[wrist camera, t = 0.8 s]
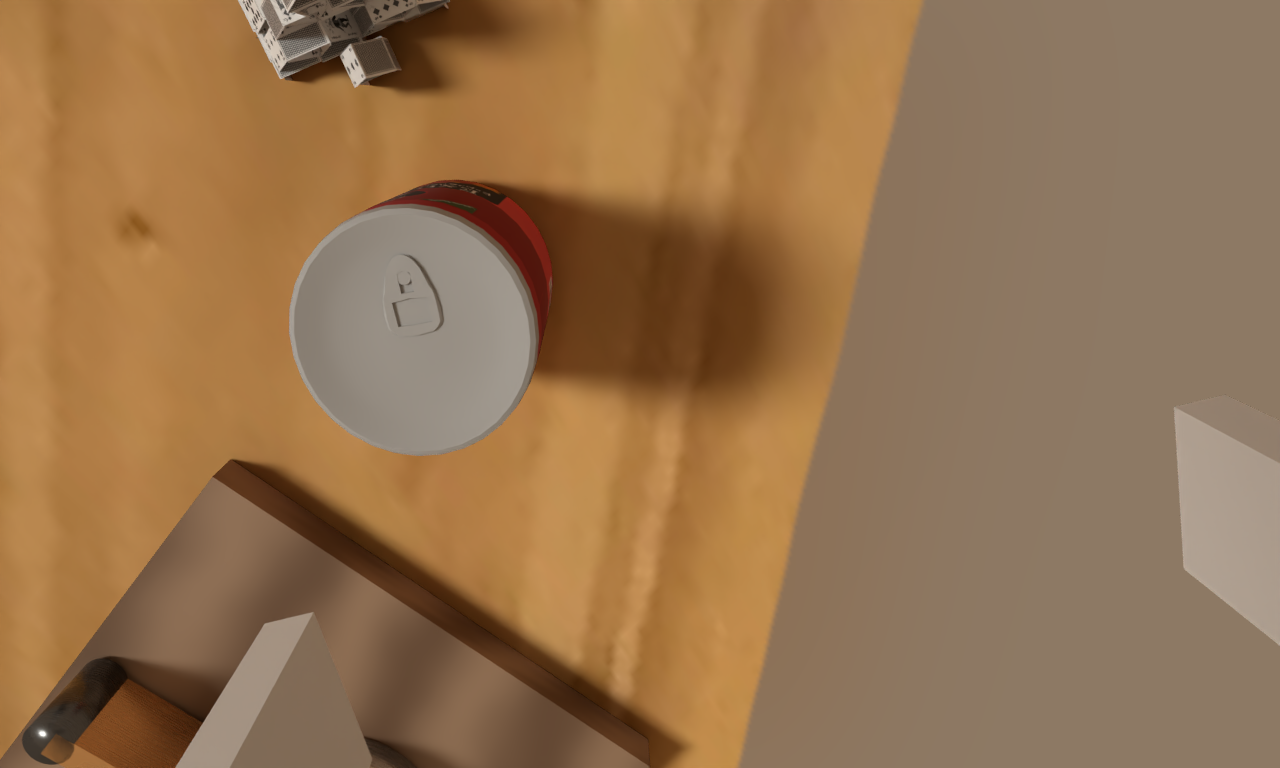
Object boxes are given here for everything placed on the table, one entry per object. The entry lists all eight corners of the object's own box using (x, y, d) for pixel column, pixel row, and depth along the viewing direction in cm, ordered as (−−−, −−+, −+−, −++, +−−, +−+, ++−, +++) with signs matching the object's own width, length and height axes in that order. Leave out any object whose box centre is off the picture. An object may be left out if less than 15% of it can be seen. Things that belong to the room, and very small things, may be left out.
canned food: (501, 146, 37) (463, 162, 27) (586, 320, 40) (582, 398, 29) (335, 225, 38) (233, 272, 27) (428, 392, 40) (367, 495, 30)
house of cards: (308, 212, 38) (239, 238, 31) (202, 2, 36) (99, -25, 28) (508, 128, 37) (485, 134, 30) (414, -92, 35) (364, -144, 28)
